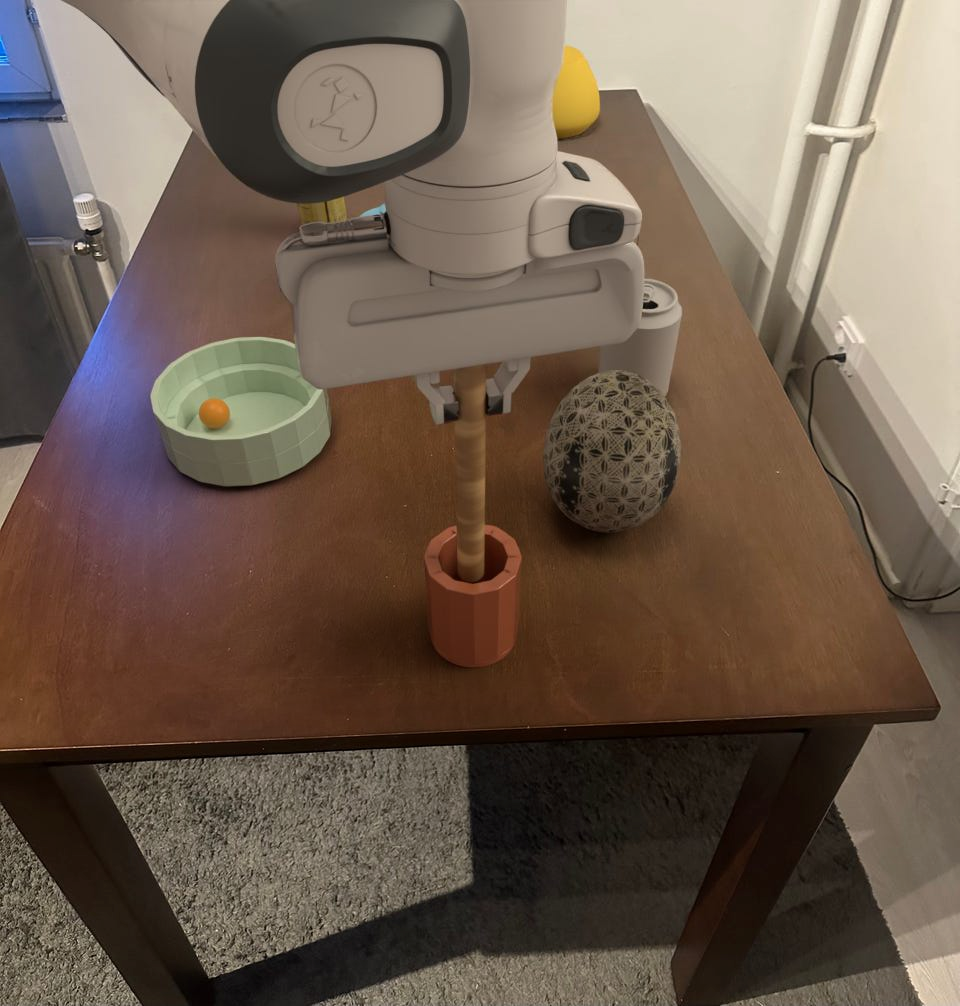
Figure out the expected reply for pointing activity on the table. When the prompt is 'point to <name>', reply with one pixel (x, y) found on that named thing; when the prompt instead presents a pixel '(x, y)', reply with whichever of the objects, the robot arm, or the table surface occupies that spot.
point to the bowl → (241, 412)
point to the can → (649, 338)
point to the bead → (214, 413)
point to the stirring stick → (470, 470)
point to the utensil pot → (473, 600)
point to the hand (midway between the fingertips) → (470, 413)
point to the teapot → (574, 95)
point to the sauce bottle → (322, 211)
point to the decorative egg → (612, 452)
